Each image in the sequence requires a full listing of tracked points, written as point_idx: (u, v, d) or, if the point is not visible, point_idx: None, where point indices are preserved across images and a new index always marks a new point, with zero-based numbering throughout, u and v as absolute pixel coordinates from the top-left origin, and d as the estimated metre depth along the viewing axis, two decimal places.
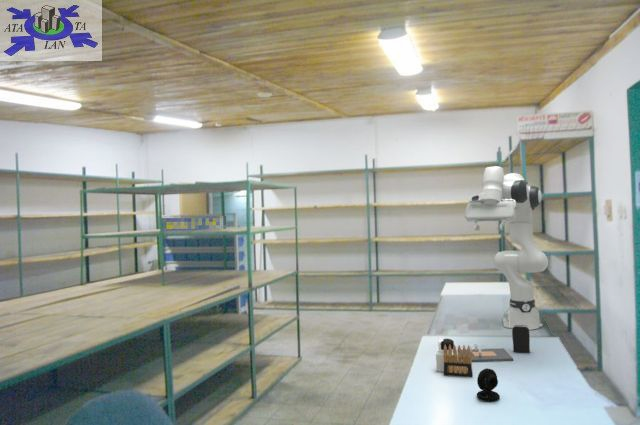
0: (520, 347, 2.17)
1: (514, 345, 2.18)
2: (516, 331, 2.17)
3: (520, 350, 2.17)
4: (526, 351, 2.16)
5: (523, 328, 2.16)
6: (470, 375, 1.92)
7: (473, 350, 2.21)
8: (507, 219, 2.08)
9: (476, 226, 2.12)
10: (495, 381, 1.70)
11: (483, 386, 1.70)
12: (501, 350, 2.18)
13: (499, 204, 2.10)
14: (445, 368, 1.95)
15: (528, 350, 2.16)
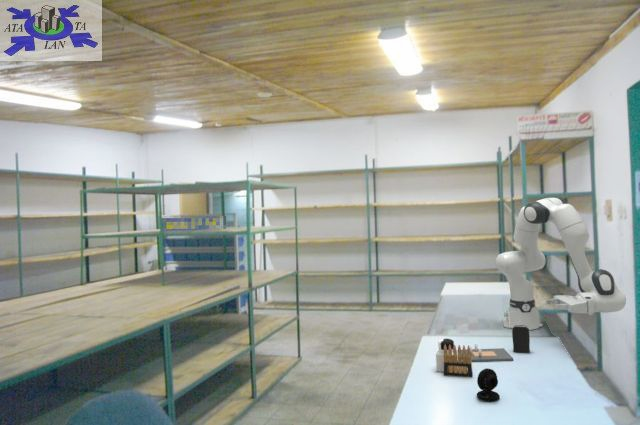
0: (520, 347, 2.17)
1: (514, 345, 2.18)
2: (516, 331, 2.17)
3: (520, 350, 2.17)
4: (526, 351, 2.16)
5: (523, 328, 2.16)
6: (470, 375, 1.92)
7: (473, 350, 2.21)
8: (555, 299, 2.24)
9: None
10: (495, 381, 1.70)
11: (483, 386, 1.70)
12: (501, 350, 2.18)
13: None
14: (445, 368, 1.95)
15: (528, 350, 2.16)
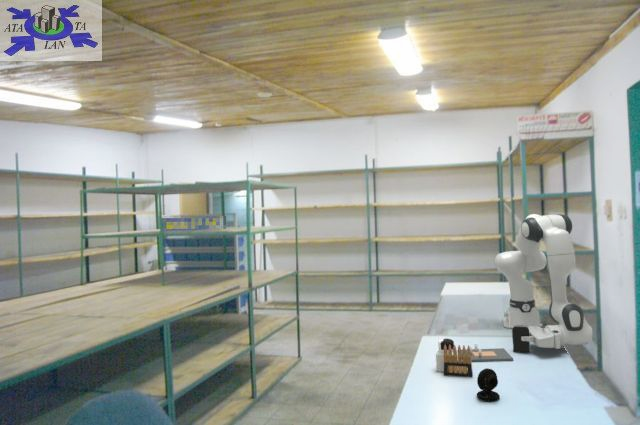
0: (520, 347, 2.17)
1: (514, 345, 2.18)
2: (516, 331, 2.17)
3: (520, 350, 2.17)
4: (526, 351, 2.16)
5: (523, 328, 2.16)
6: (470, 375, 1.92)
7: (473, 350, 2.21)
8: None
9: None
10: (495, 381, 1.70)
11: (483, 386, 1.70)
12: (501, 350, 2.18)
13: None
14: (445, 368, 1.95)
15: (528, 350, 2.16)
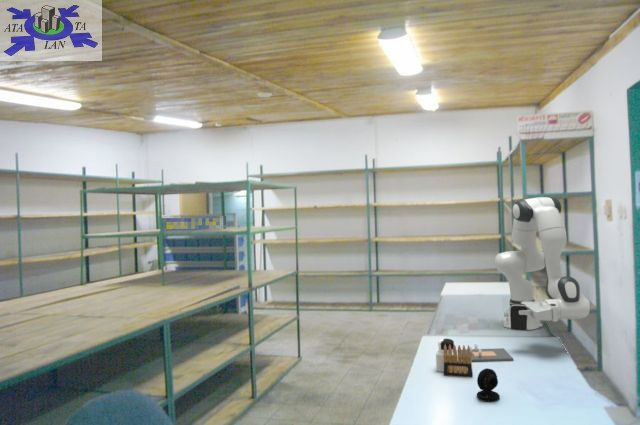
0: (518, 325, 2.18)
1: (512, 323, 2.18)
2: (515, 310, 2.17)
3: (517, 328, 2.18)
4: (523, 329, 2.17)
5: (521, 307, 2.16)
6: (470, 375, 1.92)
7: (473, 350, 2.21)
8: None
9: None
10: (495, 381, 1.70)
11: (483, 386, 1.70)
12: (501, 350, 2.18)
13: None
14: (445, 368, 1.95)
15: (525, 328, 2.17)
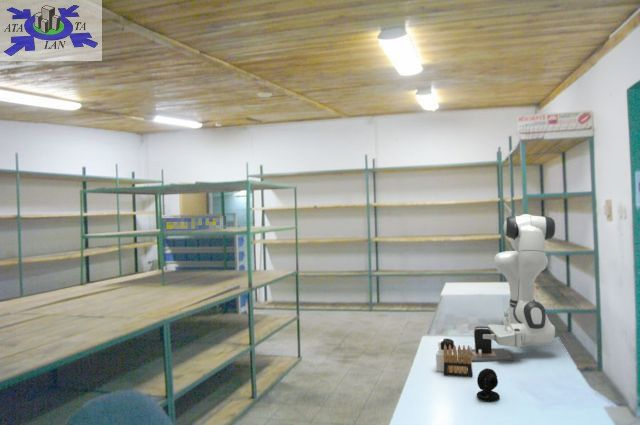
0: (482, 348, 2.15)
1: (476, 347, 2.15)
2: (478, 333, 2.14)
3: (482, 351, 2.15)
4: (488, 352, 2.14)
5: (485, 330, 2.12)
6: (470, 375, 1.92)
7: (473, 350, 2.21)
8: None
9: None
10: (495, 381, 1.70)
11: (483, 386, 1.70)
12: (501, 350, 2.18)
13: None
14: (445, 368, 1.95)
15: (490, 351, 2.14)
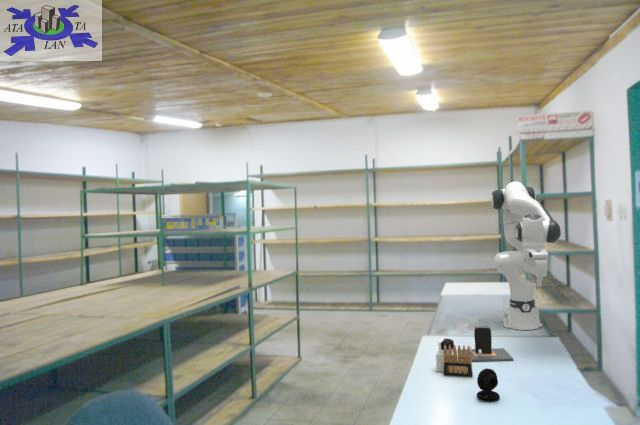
0: (482, 348, 2.15)
1: (476, 346, 2.16)
2: (478, 332, 2.15)
3: (482, 351, 2.15)
4: (488, 352, 2.14)
5: (485, 329, 2.14)
6: (470, 375, 1.92)
7: (473, 350, 2.21)
8: None
9: None
10: (495, 381, 1.70)
11: (483, 386, 1.70)
12: (501, 350, 2.18)
13: None
14: (445, 368, 1.95)
15: (490, 351, 2.14)
